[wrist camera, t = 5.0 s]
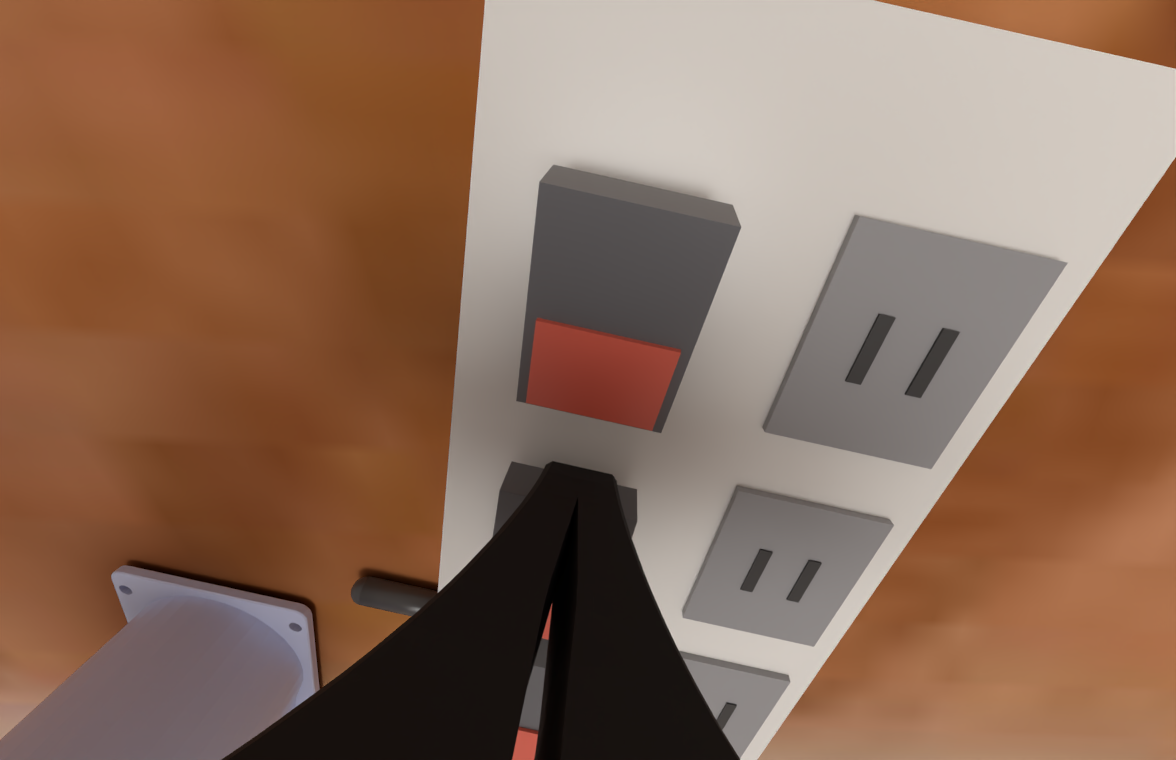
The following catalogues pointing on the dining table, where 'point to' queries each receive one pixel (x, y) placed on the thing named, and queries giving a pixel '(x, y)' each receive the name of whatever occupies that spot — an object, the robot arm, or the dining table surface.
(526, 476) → the rocker middle
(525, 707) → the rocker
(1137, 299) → the dining table surface
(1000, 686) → the dining table surface
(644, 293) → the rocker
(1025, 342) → the power strip
